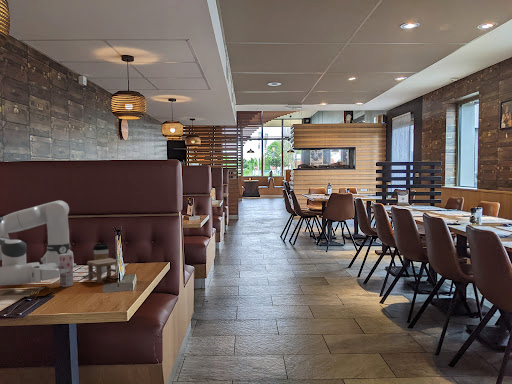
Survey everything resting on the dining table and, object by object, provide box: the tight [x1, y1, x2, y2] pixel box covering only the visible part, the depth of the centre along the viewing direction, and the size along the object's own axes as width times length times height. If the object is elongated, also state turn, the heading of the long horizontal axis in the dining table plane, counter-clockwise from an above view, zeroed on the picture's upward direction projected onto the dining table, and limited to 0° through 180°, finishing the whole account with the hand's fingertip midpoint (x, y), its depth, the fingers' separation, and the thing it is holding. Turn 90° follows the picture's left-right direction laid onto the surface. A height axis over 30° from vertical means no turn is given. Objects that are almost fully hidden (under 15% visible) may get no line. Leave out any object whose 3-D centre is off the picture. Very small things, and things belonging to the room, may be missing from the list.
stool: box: [86, 257, 117, 284], centre depth 201 cm, size 12×12×9 cm
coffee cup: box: [92, 242, 110, 273], centre depth 219 cm, size 8×8×15 cm
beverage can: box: [59, 253, 74, 288], centre depth 189 cm, size 6×6×15 cm
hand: (68, 268), depth 189 cm, fingers closed on beverage can, 6 cm apart
